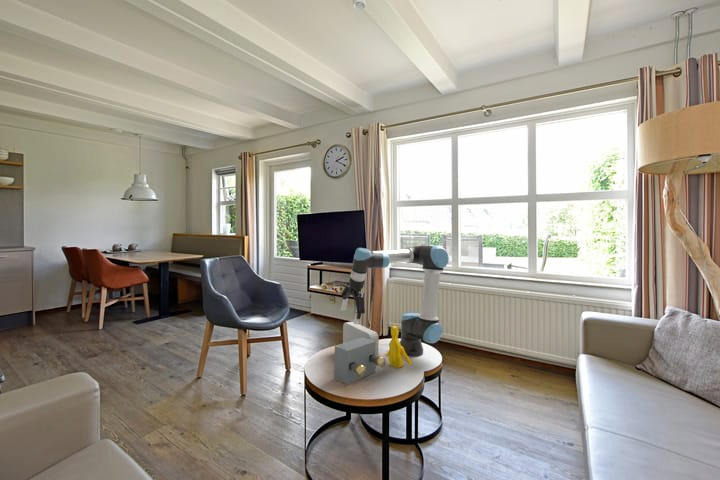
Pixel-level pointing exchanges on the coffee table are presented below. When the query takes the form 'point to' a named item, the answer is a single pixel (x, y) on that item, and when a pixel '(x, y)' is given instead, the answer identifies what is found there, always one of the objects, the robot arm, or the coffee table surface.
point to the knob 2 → (377, 360)
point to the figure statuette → (396, 350)
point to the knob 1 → (357, 368)
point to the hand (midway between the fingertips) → (349, 316)
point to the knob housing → (353, 359)
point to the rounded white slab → (359, 334)
